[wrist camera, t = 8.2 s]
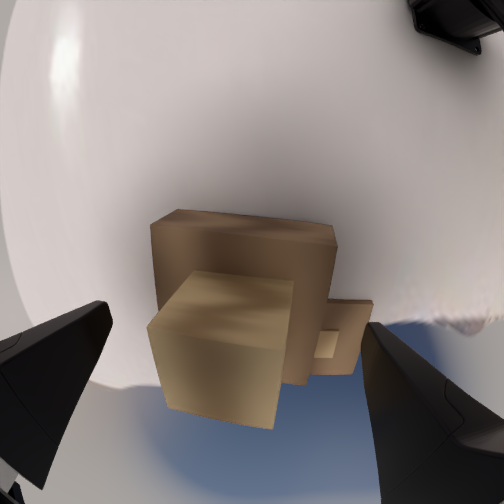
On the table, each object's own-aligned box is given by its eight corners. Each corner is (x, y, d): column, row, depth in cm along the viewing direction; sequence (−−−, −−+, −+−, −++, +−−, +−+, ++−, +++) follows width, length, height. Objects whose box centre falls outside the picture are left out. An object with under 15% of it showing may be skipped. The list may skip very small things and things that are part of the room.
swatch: (371, 300, 21) (374, 306, 21) (351, 369, 24) (352, 376, 24) (274, 296, 22) (273, 302, 21) (268, 368, 25) (268, 374, 24)
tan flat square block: (332, 225, 18) (337, 246, 15) (308, 351, 23) (306, 385, 19) (177, 209, 20) (150, 224, 17) (184, 330, 24) (166, 359, 21)
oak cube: (293, 281, 16) (283, 350, 11) (284, 358, 18) (272, 429, 13) (194, 269, 17) (146, 326, 12) (200, 345, 19) (167, 407, 14)
